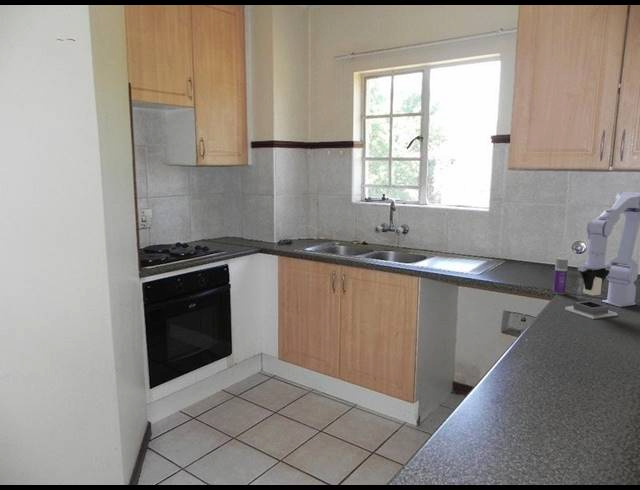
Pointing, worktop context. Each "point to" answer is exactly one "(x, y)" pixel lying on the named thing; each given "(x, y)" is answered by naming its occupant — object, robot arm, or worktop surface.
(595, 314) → the socket plate
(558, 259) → the container
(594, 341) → the worktop surface
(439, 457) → the worktop surface
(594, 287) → the plug
